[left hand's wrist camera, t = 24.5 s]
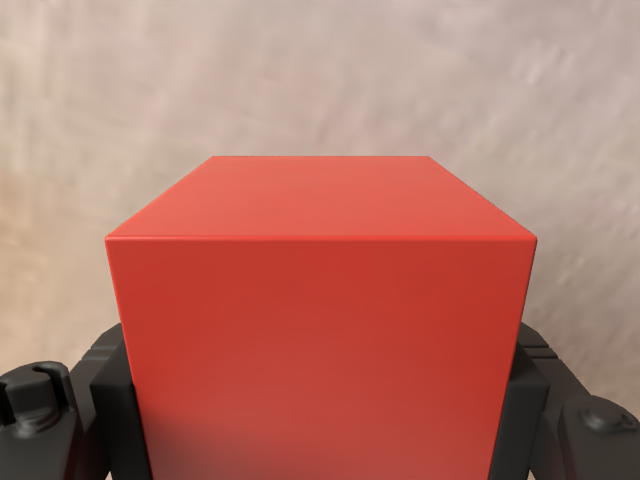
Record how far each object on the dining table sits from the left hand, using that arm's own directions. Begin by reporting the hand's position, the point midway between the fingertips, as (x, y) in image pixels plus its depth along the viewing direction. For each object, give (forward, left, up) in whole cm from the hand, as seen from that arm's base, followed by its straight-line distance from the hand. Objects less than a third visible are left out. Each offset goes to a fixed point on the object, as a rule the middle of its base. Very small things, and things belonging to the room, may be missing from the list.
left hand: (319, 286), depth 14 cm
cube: (0, 0, -1) cm, 1 cm away
